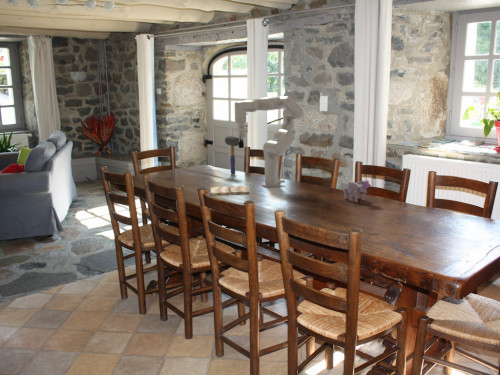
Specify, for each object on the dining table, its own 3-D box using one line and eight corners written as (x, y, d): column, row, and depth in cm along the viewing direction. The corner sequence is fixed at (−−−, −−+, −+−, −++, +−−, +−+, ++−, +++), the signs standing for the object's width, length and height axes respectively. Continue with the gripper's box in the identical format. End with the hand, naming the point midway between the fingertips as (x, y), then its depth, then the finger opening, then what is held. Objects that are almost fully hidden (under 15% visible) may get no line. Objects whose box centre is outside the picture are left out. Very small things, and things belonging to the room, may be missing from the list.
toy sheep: (377, 202, 299) (377, 180, 296) (364, 206, 293) (364, 183, 290) (353, 196, 315) (353, 175, 312) (341, 199, 310) (341, 178, 307)
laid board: (246, 187, 344) (246, 185, 344) (249, 193, 327) (249, 191, 326) (228, 188, 343) (228, 186, 343) (230, 194, 325) (230, 192, 325)
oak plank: (227, 188, 343) (227, 186, 343) (229, 194, 325) (229, 192, 325) (209, 189, 342) (209, 187, 341) (210, 195, 324) (210, 193, 324)
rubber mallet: (241, 174, 392) (240, 136, 386) (233, 175, 388) (232, 137, 382) (232, 172, 402) (231, 135, 396) (224, 173, 398) (223, 136, 391)
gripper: (247, 121, 320) (247, 149, 324) (245, 119, 334) (245, 146, 338) (235, 121, 319) (236, 149, 323) (234, 119, 334) (234, 146, 338)
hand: (241, 147), depth 331 cm, fingers closed
